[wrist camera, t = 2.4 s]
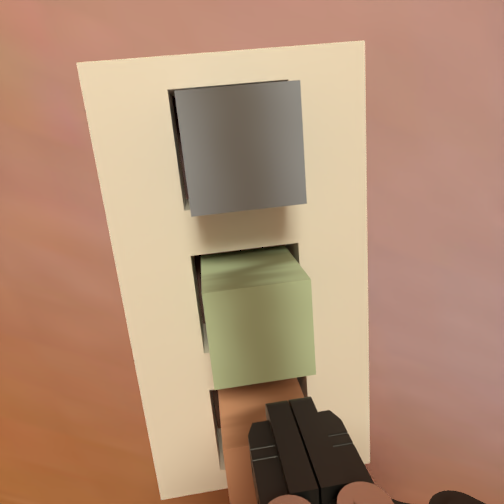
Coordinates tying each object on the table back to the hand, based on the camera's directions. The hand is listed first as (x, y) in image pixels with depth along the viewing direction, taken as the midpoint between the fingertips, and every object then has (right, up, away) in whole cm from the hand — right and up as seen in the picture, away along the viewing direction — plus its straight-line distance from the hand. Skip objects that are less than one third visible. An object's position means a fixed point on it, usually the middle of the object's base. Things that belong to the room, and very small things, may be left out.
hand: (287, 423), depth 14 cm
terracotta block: (-1, -5, +14) cm, 15 cm away
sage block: (-1, +3, +12) cm, 12 cm away
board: (-2, +4, +14) cm, 15 cm away
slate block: (-2, +11, +9) cm, 15 cm away
